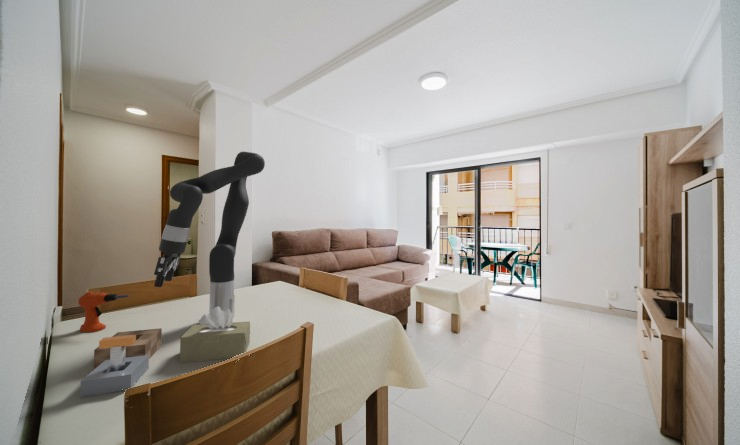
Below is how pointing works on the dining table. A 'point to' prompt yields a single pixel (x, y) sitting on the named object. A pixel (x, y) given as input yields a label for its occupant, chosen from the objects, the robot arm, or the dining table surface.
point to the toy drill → (94, 309)
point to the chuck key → (117, 350)
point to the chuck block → (143, 346)
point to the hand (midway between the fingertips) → (163, 283)
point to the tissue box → (215, 338)
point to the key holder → (114, 376)
